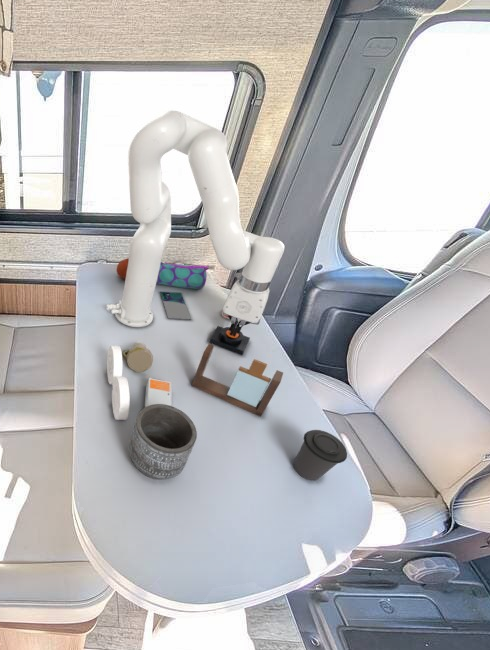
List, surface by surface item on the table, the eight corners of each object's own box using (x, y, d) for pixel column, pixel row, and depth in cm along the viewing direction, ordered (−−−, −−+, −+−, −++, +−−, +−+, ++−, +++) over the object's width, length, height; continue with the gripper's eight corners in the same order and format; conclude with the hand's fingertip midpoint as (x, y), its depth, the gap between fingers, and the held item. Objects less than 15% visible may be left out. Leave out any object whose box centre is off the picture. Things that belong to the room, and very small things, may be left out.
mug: (149, 351, 117) (162, 340, 108) (140, 380, 114) (152, 371, 104) (126, 341, 118) (137, 329, 109) (116, 370, 114) (126, 360, 105)
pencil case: (145, 286, 146) (150, 263, 140) (146, 274, 153) (151, 252, 147) (202, 295, 143) (210, 272, 137) (201, 282, 150) (208, 260, 144)
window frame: (191, 385, 106) (203, 351, 99) (196, 377, 109) (208, 343, 101) (260, 416, 99) (280, 382, 91) (264, 407, 101) (283, 372, 94)
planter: (123, 438, 92) (132, 402, 84) (175, 440, 92) (188, 404, 84) (130, 486, 82) (141, 450, 75) (187, 489, 82) (204, 453, 75)
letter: (105, 365, 112) (110, 338, 106) (113, 365, 112) (118, 338, 106) (115, 428, 94) (122, 400, 88) (124, 428, 94) (131, 400, 88)
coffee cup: (311, 492, 83) (334, 466, 77) (278, 462, 88) (297, 435, 82) (335, 477, 86) (358, 450, 80) (301, 448, 91) (321, 421, 85)
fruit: (121, 269, 156) (124, 251, 151) (142, 276, 152) (145, 258, 147) (111, 278, 150) (113, 260, 145) (131, 286, 146) (135, 267, 141)
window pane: (226, 395, 102) (244, 357, 94) (227, 393, 103) (245, 355, 94) (255, 407, 99) (276, 369, 91) (256, 405, 99) (276, 367, 91)
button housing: (208, 342, 121) (212, 333, 119) (216, 329, 127) (219, 321, 124) (242, 355, 117) (246, 346, 115) (248, 341, 122) (252, 333, 120)
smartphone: (168, 317, 130) (160, 291, 143) (167, 318, 131) (159, 292, 143) (191, 319, 130) (181, 292, 143) (190, 320, 130) (180, 293, 143)
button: (223, 338, 120) (224, 333, 119) (226, 332, 123) (228, 328, 122) (235, 342, 119) (237, 338, 118) (238, 336, 121) (239, 332, 120)
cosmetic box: (171, 381, 101) (172, 417, 92) (168, 392, 104) (168, 428, 95) (148, 376, 102) (146, 411, 93) (145, 388, 105) (143, 423, 96)
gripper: (223, 279, 109) (205, 330, 120) (280, 296, 103) (256, 349, 114) (230, 268, 114) (212, 318, 125) (285, 284, 107) (261, 336, 119)
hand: (233, 333), depth 119 cm, fingers closed
